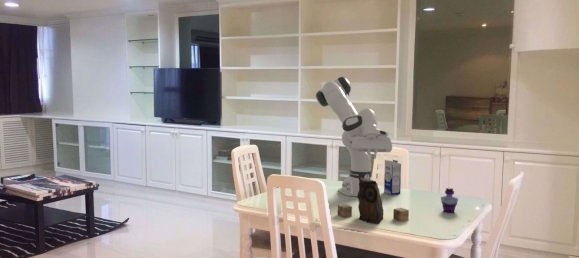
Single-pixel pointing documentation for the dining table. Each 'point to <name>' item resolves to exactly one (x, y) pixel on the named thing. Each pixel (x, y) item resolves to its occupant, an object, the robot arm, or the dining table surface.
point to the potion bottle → (449, 201)
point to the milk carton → (392, 177)
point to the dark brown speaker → (369, 201)
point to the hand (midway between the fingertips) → (373, 158)
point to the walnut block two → (401, 214)
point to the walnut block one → (344, 210)
